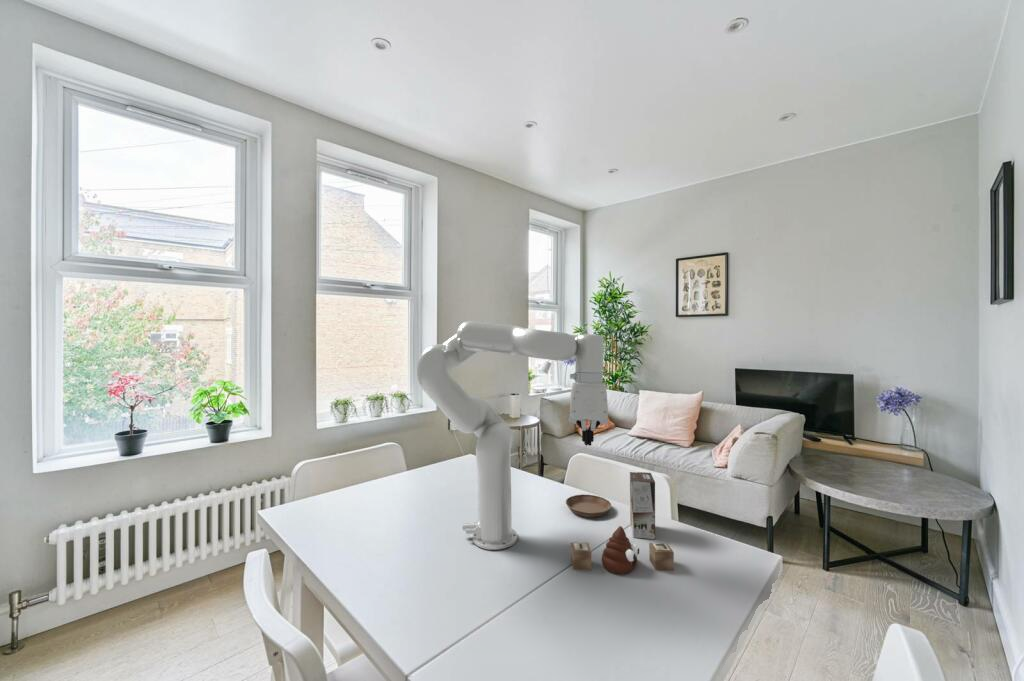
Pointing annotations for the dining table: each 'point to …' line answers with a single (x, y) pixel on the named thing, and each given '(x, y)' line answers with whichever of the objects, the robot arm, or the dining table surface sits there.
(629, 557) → the poop emoji
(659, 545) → the letter l block
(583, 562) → the letter i block
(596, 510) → the saucer
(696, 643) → the dining table surface
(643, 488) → the coffee box
